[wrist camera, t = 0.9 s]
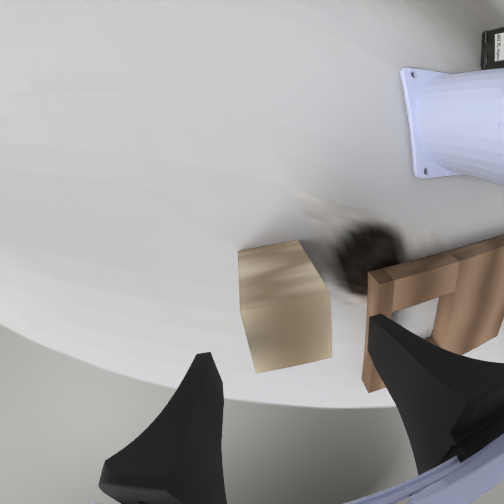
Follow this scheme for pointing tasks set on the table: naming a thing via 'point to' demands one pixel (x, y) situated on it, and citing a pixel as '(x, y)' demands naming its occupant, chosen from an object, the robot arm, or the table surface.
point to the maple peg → (283, 307)
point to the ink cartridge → (492, 49)
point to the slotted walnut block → (443, 297)
